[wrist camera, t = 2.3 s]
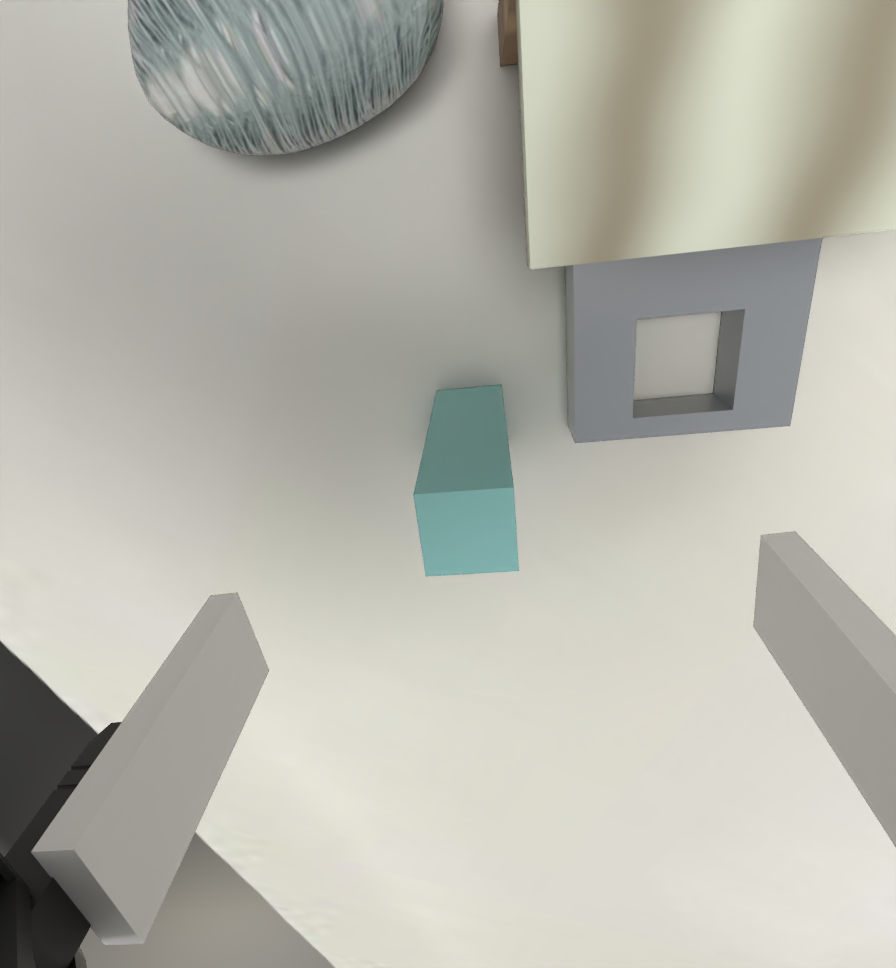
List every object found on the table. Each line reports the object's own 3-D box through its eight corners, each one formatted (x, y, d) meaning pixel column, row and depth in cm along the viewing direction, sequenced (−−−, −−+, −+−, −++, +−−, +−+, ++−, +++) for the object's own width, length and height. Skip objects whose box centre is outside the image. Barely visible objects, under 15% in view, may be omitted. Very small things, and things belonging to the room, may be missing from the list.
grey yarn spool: (412, -258, 21) (346, -212, 15) (485, 41, 28) (458, 143, 23) (139, -96, 26) (17, -18, 20) (262, 123, 33) (196, 222, 28)
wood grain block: (509, 242, 31) (530, 269, 19) (497, 14, 27) (512, -152, 14) (855, 203, 29) (1134, 203, 17) (903, -47, 25) (1328, -298, 12)
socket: (567, 425, 36) (574, 443, 33) (563, 174, 29) (572, 171, 27) (766, 408, 34) (790, 425, 32) (805, 144, 28) (839, 138, 26)
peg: (444, 449, 37) (426, 576, 24) (437, 390, 35) (413, 494, 23) (505, 444, 36) (518, 570, 24) (501, 384, 35) (513, 487, 22)
